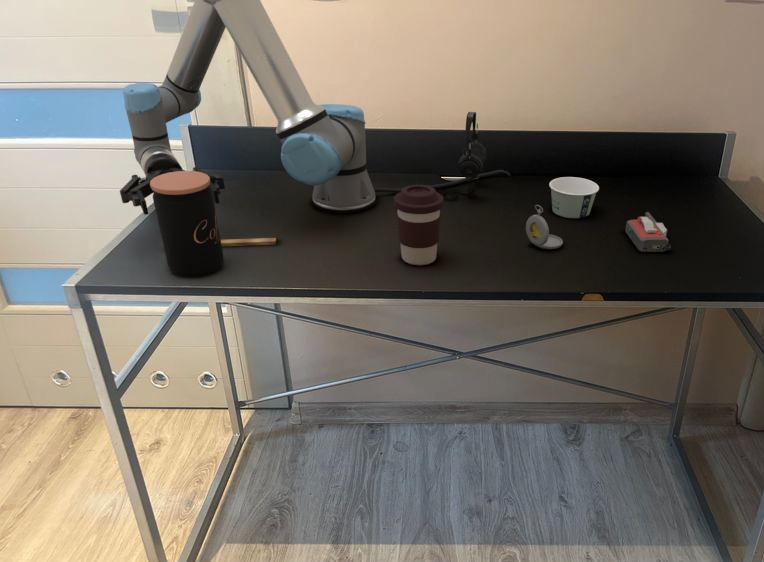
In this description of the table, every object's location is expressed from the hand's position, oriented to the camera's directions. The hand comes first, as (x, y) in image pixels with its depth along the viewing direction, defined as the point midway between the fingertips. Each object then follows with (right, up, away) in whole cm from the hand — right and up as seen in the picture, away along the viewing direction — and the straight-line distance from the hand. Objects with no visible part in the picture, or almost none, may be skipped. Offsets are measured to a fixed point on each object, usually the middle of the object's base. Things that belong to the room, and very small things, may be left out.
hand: (181, 202), depth 139 cm
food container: (+82, +5, +34) cm, 89 cm away
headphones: (+55, +12, +42) cm, 71 cm away
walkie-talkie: (+98, -3, +22) cm, 100 cm away
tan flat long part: (+4, -7, +11) cm, 14 cm away
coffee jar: (+2, -13, +2) cm, 13 cm away
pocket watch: (+74, -6, +16) cm, 76 cm away
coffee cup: (+47, -10, +9) cm, 48 cm away
